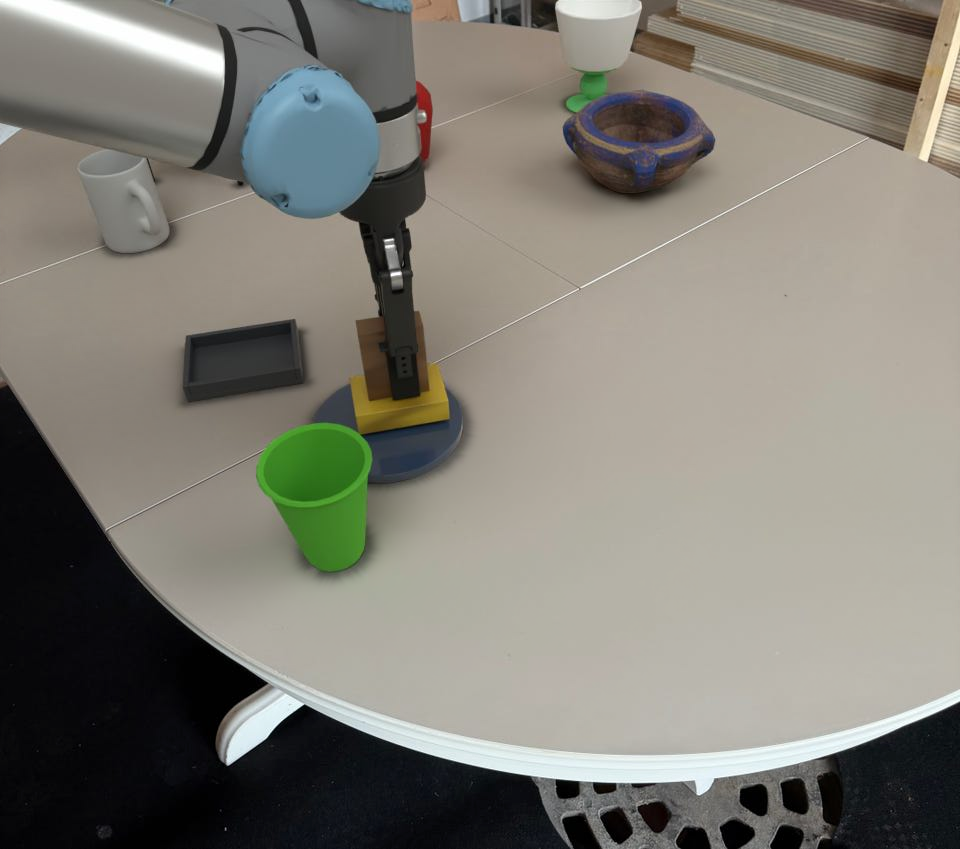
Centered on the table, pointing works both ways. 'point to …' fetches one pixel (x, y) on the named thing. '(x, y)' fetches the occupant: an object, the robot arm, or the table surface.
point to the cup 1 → (320, 490)
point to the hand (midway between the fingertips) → (403, 385)
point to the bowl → (637, 139)
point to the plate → (398, 439)
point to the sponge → (375, 388)
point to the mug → (124, 200)
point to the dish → (242, 360)
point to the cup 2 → (595, 41)
